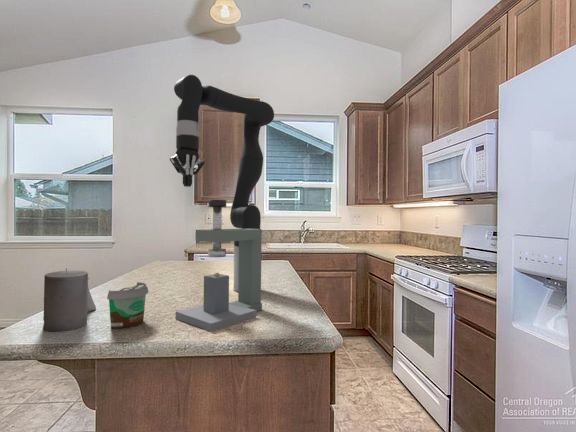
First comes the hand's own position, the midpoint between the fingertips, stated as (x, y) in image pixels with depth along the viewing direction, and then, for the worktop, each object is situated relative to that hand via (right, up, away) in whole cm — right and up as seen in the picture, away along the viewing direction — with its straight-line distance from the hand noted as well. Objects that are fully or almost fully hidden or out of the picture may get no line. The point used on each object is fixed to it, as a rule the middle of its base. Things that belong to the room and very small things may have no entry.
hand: (187, 186), depth 116 cm
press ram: (+14, -22, -20) cm, 33 cm away
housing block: (+14, -37, -20) cm, 44 cm away
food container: (-7, -39, -26) cm, 48 cm away
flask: (-28, -39, -14) cm, 50 cm away
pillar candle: (-23, -39, -27) cm, 53 cm away
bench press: (+16, -39, -17) cm, 46 cm away
